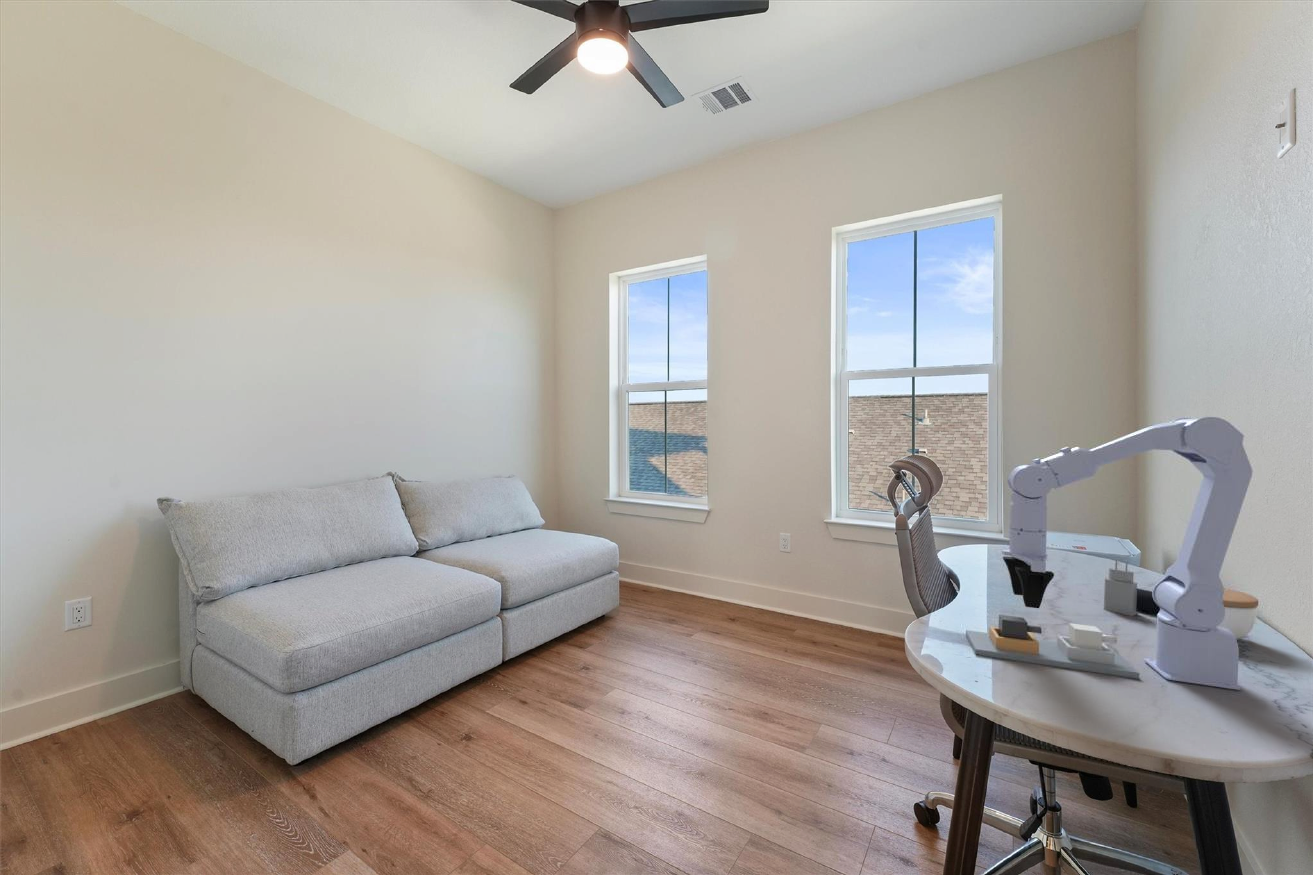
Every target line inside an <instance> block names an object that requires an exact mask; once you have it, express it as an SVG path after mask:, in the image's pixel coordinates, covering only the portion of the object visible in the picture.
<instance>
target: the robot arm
mask: <svg viewBox="0 0 1313 875" xmlns="http://www.w3.org/2000/svg"><path fill="white" fill-rule="evenodd" d="M1244 438H1245V435H1244V434H1243V433H1242V432H1241V431H1240V430H1238V429H1237V428H1236V427H1235V426H1234V425H1232V424H1231V423H1230V422H1229V421H1227V420H1226V419H1224V418H1221V417H1217V416H1205V417H1198V418H1197V417H1196V418H1191V417H1179V418H1176V419H1174V420H1171V421H1169V422H1162V423H1161V422H1160V423H1157V424H1154V425H1151V426H1148V427H1145V428H1142V429H1139V430H1136V431H1134V432H1132V433H1129V434H1126V435H1124V436H1121V437H1119V438H1116V439H1114V440H1111V441H1108V442H1107V443H1104V444H1102V445H1098V446H1097V447H1093V448H1091V449H1089V450H1088V449H1085V448H1082V447H1079V446H1076V447H1072V448H1071V447H1070V446H1066V447H1063V448H1060V449H1059V450H1060V452H1058V453H1057V454H1053V455H1050V456H1048V457H1045V458H1042V459H1040V458H1035V459H1032V463H1033V464H1032V465H1028V464H1024V465H1019V466H1017V467H1015V468H1014V469H1013V470H1012V471H1011V472H1010V474H1009V476H1008V478H1007V484H1008V486H1009V488H1010V489H1011V494H1010V499H1011V501H1010V504H1009V505H1010V506H1009V508H1010V509H1009V539H1008V541H1009V542H1008V543H1009V546H1008V549H1002V550H1001V554H1002V555H1005V556H1002V559H1003V561H1004V564H1005V566H1006V568H1007V571H1008V574H1009V578H1010V583H1011V588H1012V592H1013V595H1014V596H1022V598H1023V600H1022V601H1023V602H1024V606H1025V608H1030V609H1031V608H1032V609H1040V607H1041V605H1042V601H1043V598H1044V594H1045V592H1046V590H1047V587H1048V586H1049V584H1050V582H1051V581H1052V580H1053V579H1054V577H1055V573H1054V572H1052V571H1051V570H1049V571H1048V570H1046V569H1047V567H1046V566H1047V565H1046V564H1047V560H1048V554H1047V528H1048V527H1047V523H1048V522H1047V521H1048V506H1047V495H1048V494H1049V493H1050V492H1051V490H1052V489H1054V490H1055V489H1059V488H1062V487H1065V486H1068V485H1071V484H1074V483H1077V482H1079V481H1083V480H1086V479H1088V478H1091V477H1094V476H1095V475H1096V473H1097V471H1098V470H1099V467H1100V466H1104V465H1108V464H1110V463H1113V462H1116V461H1120V460H1123V459H1126V458H1130V457H1133V456H1136V455H1139V454H1142V453H1146V452H1149V451H1152V450H1155V451H1156V450H1161V451H1162V450H1163V451H1172V452H1174V453H1176V454H1177V455H1179V456H1181V457H1183V458H1184V459H1187V460H1188V461H1189V462H1190V463H1191V464H1192V465H1193V466H1194V467H1195V468H1196V469H1197V470H1198V471H1199V472H1200V473H1201V474H1202V476H1203V478H1202V481H1201V483H1200V486H1199V490H1198V493H1197V496H1196V499H1195V502H1194V506H1193V509H1192V511H1191V515H1190V518H1189V521H1188V524H1187V527H1186V530H1185V533H1184V536H1183V540H1182V542H1181V546H1180V548H1179V549H1180V550H1179V551H1178V555H1177V558H1176V561H1175V562H1174V563H1173V564H1171V565H1170V566H1168V568H1166V571H1165V573H1164V575H1163V577H1162V578H1161V579H1160V580H1158V582H1156V583H1155V585H1154V586H1153V588H1152V596H1153V599H1154V601H1155V603H1156V604H1157V605H1158V606H1159V607H1160V611H1159V613H1158V614H1157V615H1156V618H1157V619H1156V636H1155V641H1156V642H1155V659H1152V658H1144V659H1143V660H1144V662H1145V663H1147V664H1148V665H1149V666H1150V667H1151V668H1152V669H1154V670H1155V672H1157V673H1158V674H1160V675H1161V676H1162V677H1163V678H1164V679H1166V680H1169V681H1176V682H1183V683H1189V684H1194V685H1203V686H1209V687H1216V688H1217V687H1218V688H1224V689H1229V690H1236V691H1237V690H1238V691H1239V690H1241V686H1240V685H1238V683H1239V682H1238V680H1239V679H1238V678H1239V657H1240V656H1239V655H1240V654H1239V653H1240V652H1239V650H1240V649H1239V645H1238V639H1237V640H1236V638H1235V636H1234V635H1233V633H1232V632H1231V631H1230V630H1228V629H1226V628H1222V627H1216V626H1218V625H1219V624H1220V623H1221V622H1222V621H1223V619H1224V617H1225V608H1224V605H1223V595H1224V592H1225V591H1224V588H1225V587H1224V584H1223V583H1222V580H1221V577H1220V572H1221V569H1222V566H1223V563H1224V561H1225V557H1226V554H1227V552H1228V549H1229V545H1230V543H1231V540H1232V537H1233V533H1234V531H1235V527H1236V525H1237V522H1238V519H1239V516H1240V514H1241V509H1242V507H1243V504H1244V500H1245V498H1246V495H1247V492H1248V489H1249V486H1250V482H1251V480H1252V476H1253V468H1252V465H1251V462H1250V460H1249V456H1248V455H1247V452H1246V450H1245V447H1244V444H1243V443H1244Z"/></svg>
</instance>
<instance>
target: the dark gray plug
mask: <svg viewBox="0 0 1313 875" xmlns="http://www.w3.org/2000/svg"><path fill="white" fill-rule="evenodd" d="M1028 623H1029V622H1028V621H1027V620H1026V619H1025V617H1021V616H1015V615H1014V616H1013V615H1006V614H998V627H997V628H998V635H999V637H1006V638H1013V639H1020V640H1027V632H1031V634H1033V633H1034V634H1042V627H1041V626H1037V625H1029V624H1028Z"/></svg>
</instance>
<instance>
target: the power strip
mask: <svg viewBox="0 0 1313 875" xmlns="http://www.w3.org/2000/svg"><path fill="white" fill-rule="evenodd" d="M965 636H966V638H967V640H968V641H969V644H970V647H971V649H972V648H973V649H972V651H973V650H974V651H973V652H974V654H979V655H978V656H982V655H983V656H984V657H989V656H990V658H996V659H1004V660H1010V661H1016V662H1017V661H1018V662H1023V663H1032V664H1036V665H1045V666H1051V667H1057V668H1058V667H1059V668H1064V669H1072V670H1077V671H1083V672H1092V673H1096V674H1097V673H1098V674H1106V675H1110V676H1118V677H1125V678H1133V679H1137V680H1139V679H1140V672H1139V671H1138V670H1137V669H1135V667H1133V666H1132V665H1131V664H1130V663H1129V662H1128V661H1127V660H1126V659H1125V658H1123V657H1122V656H1121V655H1120V654H1119V653H1118V652H1117V651H1115V650H1114V649H1110V648H1109V647H1108V646H1107V645H1106V644H1105V643H1111V644H1117V639H1118V638H1117V636H1116V635H1108V634H1103V631H1101V630H1100V629H1099V628H1098V627H1097V626H1094V625H1087V624H1078V623H1071V622H1070V623H1068V636H1063V635H1056V641H1050V640H1044V639H1037V638H1035V636H1034V634H1033V633H1032V632H1027V640H1020V639H1013V638H1006V637H999V635H998V627H995V626H989V632H983V631H982V632H981V631H975V630H968V629H967V630H966V631H965Z"/></svg>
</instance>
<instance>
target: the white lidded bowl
mask: <svg viewBox="0 0 1313 875" xmlns="http://www.w3.org/2000/svg"><path fill="white" fill-rule="evenodd" d="M1224 591H1225V592H1224V595H1223V605H1224V608H1225V617H1224V619H1223V621H1222V622H1221V623H1220V624H1219V625H1218V626H1216V627H1222V628H1226V629H1228V630H1230V631H1231V632H1232V633H1233V635H1234V636H1235V638H1236V640H1237V641H1238V640H1241V639H1243V638H1244V637H1246V636H1247V635H1248V634H1250V633H1251V631H1252V629H1253V628H1254V626H1255V623H1256V620H1257V612H1258V606H1259V599H1258V598H1257V597H1255V596H1253V595H1251V594H1248V593H1246V592H1241V591H1239V590H1238V591H1237V590H1235V589H1230V588H1227V587H1226V588H1225V587H1224Z"/></svg>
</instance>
